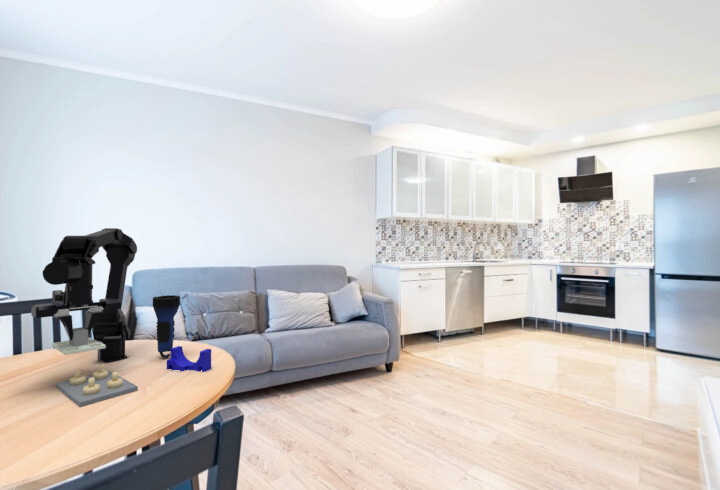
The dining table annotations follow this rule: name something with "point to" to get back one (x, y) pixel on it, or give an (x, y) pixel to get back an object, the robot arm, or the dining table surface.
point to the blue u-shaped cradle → (182, 363)
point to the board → (78, 348)
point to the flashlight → (165, 321)
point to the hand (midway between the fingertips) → (78, 338)
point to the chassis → (95, 386)
